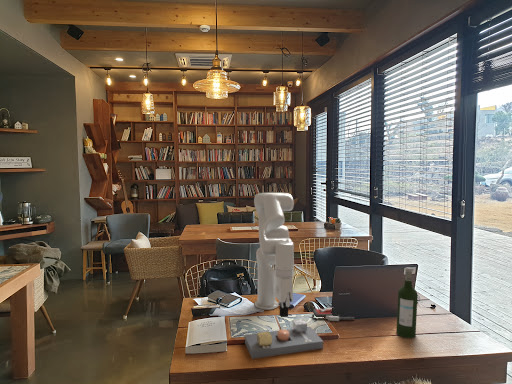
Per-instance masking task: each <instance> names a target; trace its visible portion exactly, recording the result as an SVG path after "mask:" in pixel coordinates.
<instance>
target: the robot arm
mask: <svg viewBox="0 0 512 384" xmlns="http://www.w3.org/2000/svg"><path fill="white" fill-rule="evenodd" d="M253 199H254V200H253V204H254V207H255V210H256V214H257V217H258V239H259V247H258V248H257V249H256V252H255V254H256V255H255V257H256V264H257V265H256V266H257V300H256V301H255V302H254V307H255V308H257V309H259V310H264V311H269V310H270V311H271V310H275V309H277V308H278V307H279V317H281V318H287V317H289V307H291V303H292V302H293V300H294V289H293V277H294V267H295V266H294V264H295V263H294V260H295V258H294V256H295V254H294V252H295V251H294V250H295V249H294V247H295V245H294V241H292V239H291V238H290V232H289V231H290V230H289V228H288V227H287V226H286V225H284V224H285V222H286V218H285V215H284V212H290V211H293V209H294V206H295V201H294V198H293V196H292V195H291V194H290V193H288V192H260V193H256V194H255V196H254V198H253ZM273 265H274V267H273ZM276 299H277V300H278V301H277V300H276Z"/></svg>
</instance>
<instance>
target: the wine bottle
mask: <svg viewBox="0 0 512 384" xmlns="http://www.w3.org/2000/svg"><path fill="white" fill-rule="evenodd" d="M418 296H419V295H418V291H416V289H415V288H414V287H413V268H412V267H409V266H407V267H405V275H404V285H402V286H401V287H400V288H399V289H398V291H397V309H396V334H397V335H398V336H399V337H402V338H404V339H413V338H415V337H416V335H417V334H416V333H417V314H418Z"/></svg>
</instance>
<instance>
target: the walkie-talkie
mask: <svg viewBox="0 0 512 384" xmlns="http://www.w3.org/2000/svg"><path fill="white" fill-rule="evenodd" d="M332 308H333V307H324V308H321V307H320V308H317V309H316V308H313V310H312V314H313V313H314V315H315V316H316V317H324V318H326V319H328V320H327V321H330V322H340V321H341V320H354V319H355V316H343V317H342V316H339V315H338V316H333V315H332V313H331V312H332ZM314 315H313V316H312V318H313V317H314ZM326 319H325V320H326Z"/></svg>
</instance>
